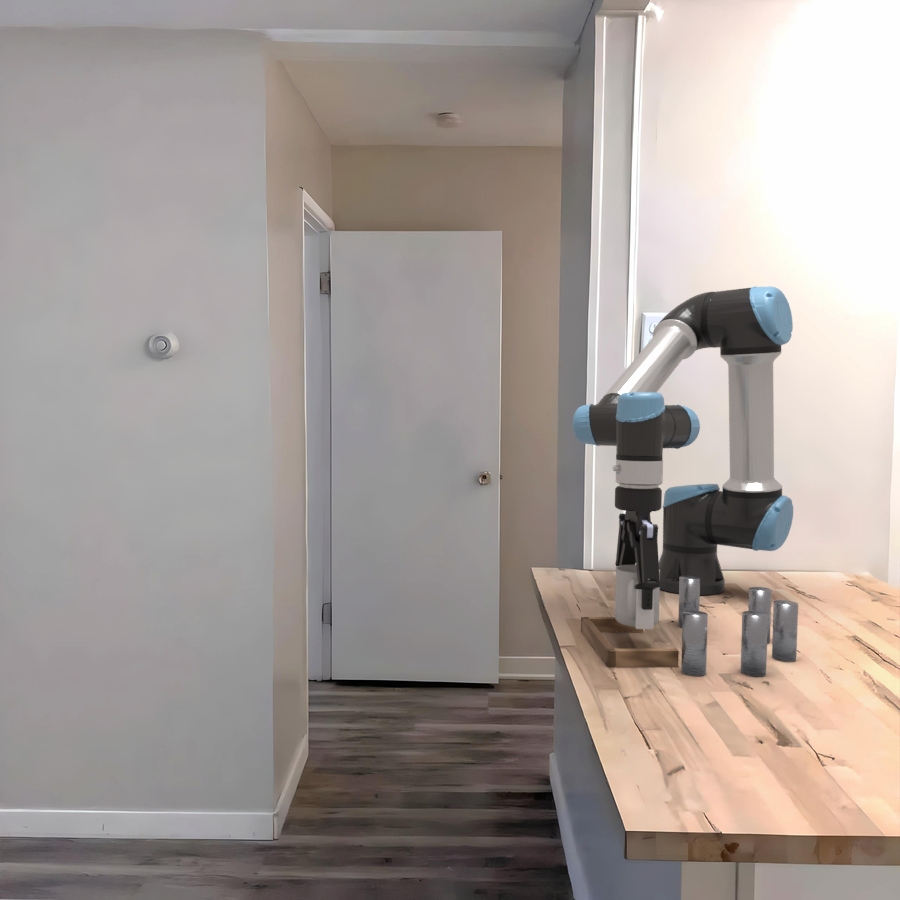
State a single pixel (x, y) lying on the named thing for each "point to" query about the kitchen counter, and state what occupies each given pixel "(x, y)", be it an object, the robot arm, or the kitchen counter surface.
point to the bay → (624, 657)
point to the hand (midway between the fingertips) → (635, 619)
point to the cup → (630, 596)
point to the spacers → (752, 630)
